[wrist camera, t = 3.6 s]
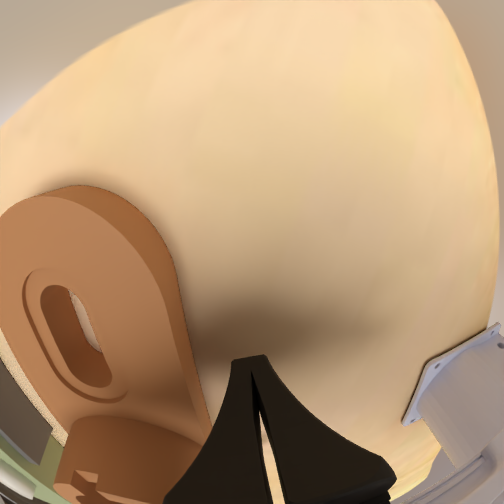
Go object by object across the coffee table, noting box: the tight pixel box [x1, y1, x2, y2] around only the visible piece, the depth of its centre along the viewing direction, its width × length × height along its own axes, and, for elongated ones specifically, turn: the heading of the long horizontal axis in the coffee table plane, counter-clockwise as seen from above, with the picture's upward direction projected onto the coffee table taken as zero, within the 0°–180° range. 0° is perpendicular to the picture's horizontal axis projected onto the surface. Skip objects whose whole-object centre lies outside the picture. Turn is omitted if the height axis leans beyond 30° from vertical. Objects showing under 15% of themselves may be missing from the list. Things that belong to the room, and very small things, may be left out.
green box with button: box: [0, 359, 72, 504], centre depth 10 cm, size 11×22×7 cm, turn 8°
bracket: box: [0, 185, 212, 504], centre depth 9 cm, size 18×8×7 cm, turn 3°
